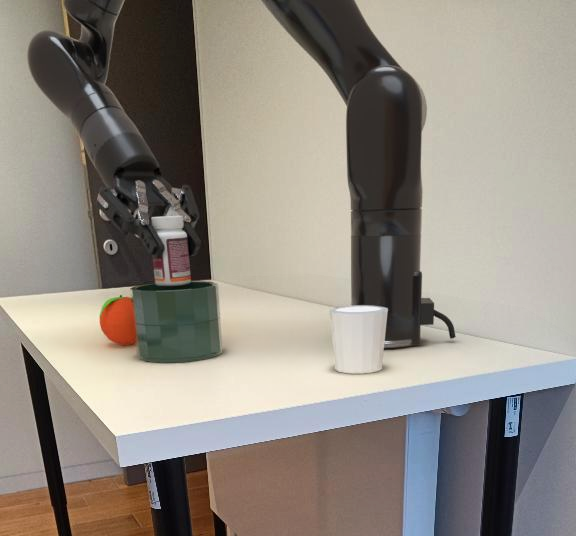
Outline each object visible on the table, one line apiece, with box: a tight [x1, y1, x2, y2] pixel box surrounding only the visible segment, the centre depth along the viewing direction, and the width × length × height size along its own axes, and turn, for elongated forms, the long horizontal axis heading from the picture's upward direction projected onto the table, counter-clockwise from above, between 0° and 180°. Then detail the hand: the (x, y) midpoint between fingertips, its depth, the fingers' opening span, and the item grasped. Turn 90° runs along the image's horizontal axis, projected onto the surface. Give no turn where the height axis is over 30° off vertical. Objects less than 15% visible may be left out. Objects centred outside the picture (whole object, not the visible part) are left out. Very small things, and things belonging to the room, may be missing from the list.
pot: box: [129, 280, 223, 364], centre depth 101 cm, size 11×11×9 cm
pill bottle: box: [150, 216, 192, 286], centre depth 98 cm, size 5×5×8 cm
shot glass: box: [328, 305, 388, 375], centre depth 89 cm, size 7×7×7 cm
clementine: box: [99, 294, 136, 346], centre depth 109 cm, size 8×7×7 cm
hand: (178, 251), depth 96 cm, fingers closed on pill bottle, 4 cm apart
